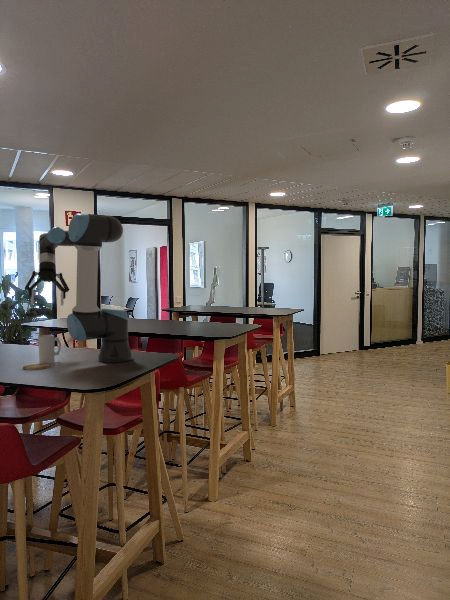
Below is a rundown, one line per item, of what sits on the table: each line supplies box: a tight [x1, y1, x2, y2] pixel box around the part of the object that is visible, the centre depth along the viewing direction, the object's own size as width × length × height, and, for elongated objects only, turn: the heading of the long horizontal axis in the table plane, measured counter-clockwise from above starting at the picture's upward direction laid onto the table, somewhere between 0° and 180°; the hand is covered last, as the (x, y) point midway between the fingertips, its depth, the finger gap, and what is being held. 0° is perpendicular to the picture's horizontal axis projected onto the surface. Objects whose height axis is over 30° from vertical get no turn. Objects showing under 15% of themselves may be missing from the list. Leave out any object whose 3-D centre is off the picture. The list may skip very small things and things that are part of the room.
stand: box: [22, 362, 51, 371], centre depth 196 cm, size 11×11×1 cm
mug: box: [37, 334, 62, 365], centre depth 206 cm, size 10×7×12 cm, turn 135°
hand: (47, 304), depth 223 cm, fingers open, 13 cm apart
